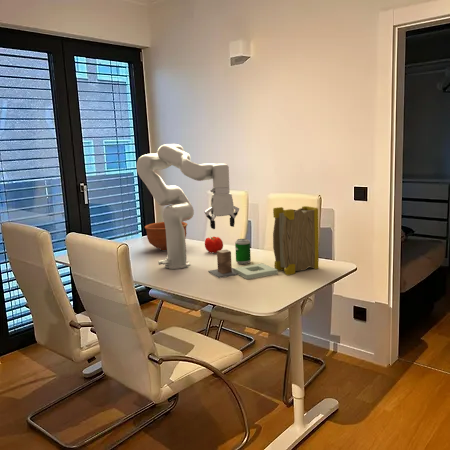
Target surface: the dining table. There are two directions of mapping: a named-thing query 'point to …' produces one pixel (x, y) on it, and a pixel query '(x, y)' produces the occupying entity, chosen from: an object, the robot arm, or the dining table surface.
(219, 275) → the rubber mat
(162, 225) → the bowl
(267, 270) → the pocket board
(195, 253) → the dining table surface
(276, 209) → the decorative book
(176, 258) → the robot arm
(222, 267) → the walnut block
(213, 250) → the tomato
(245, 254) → the soda can
